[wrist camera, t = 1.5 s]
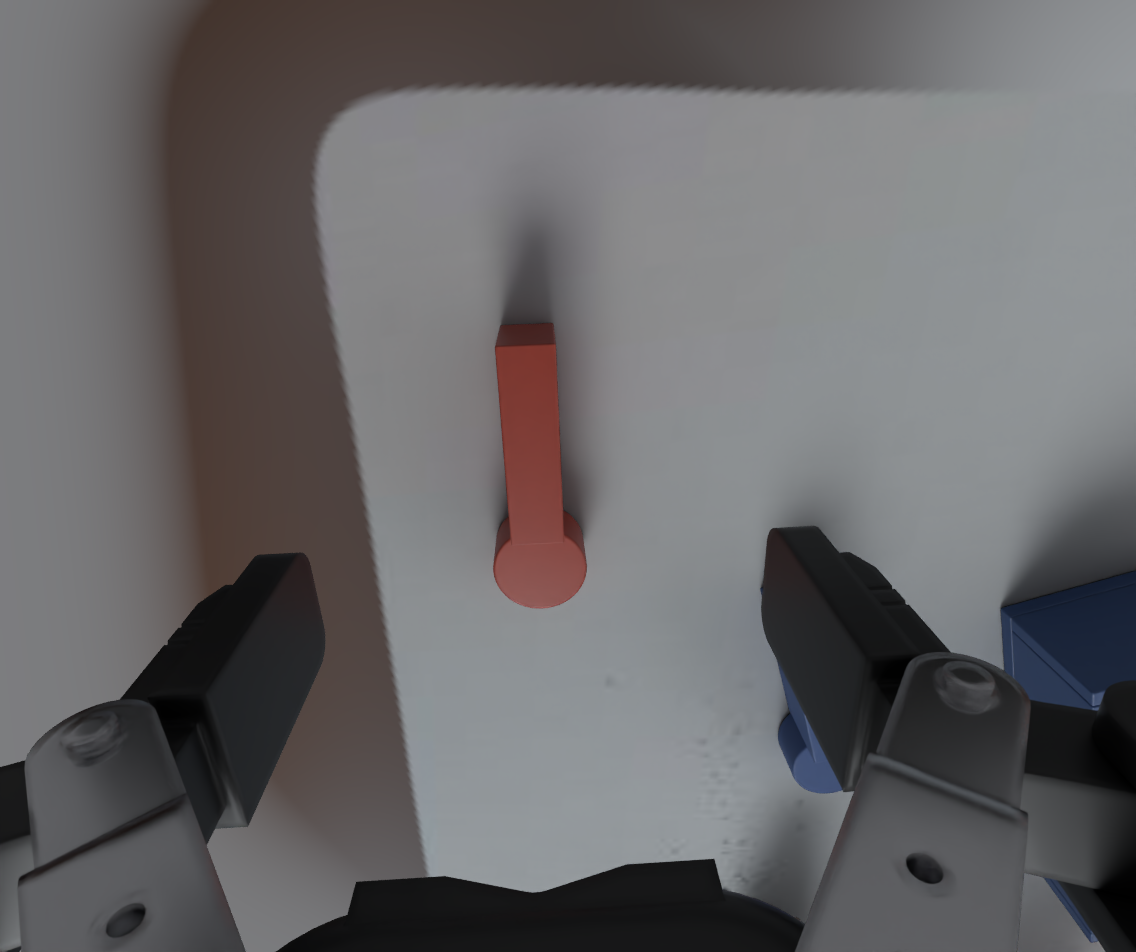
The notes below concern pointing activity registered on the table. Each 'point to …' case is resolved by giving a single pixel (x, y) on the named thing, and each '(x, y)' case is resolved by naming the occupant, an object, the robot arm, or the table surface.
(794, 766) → the blue spoon
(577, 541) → the red spoon
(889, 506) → the table surface
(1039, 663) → the blue bin
